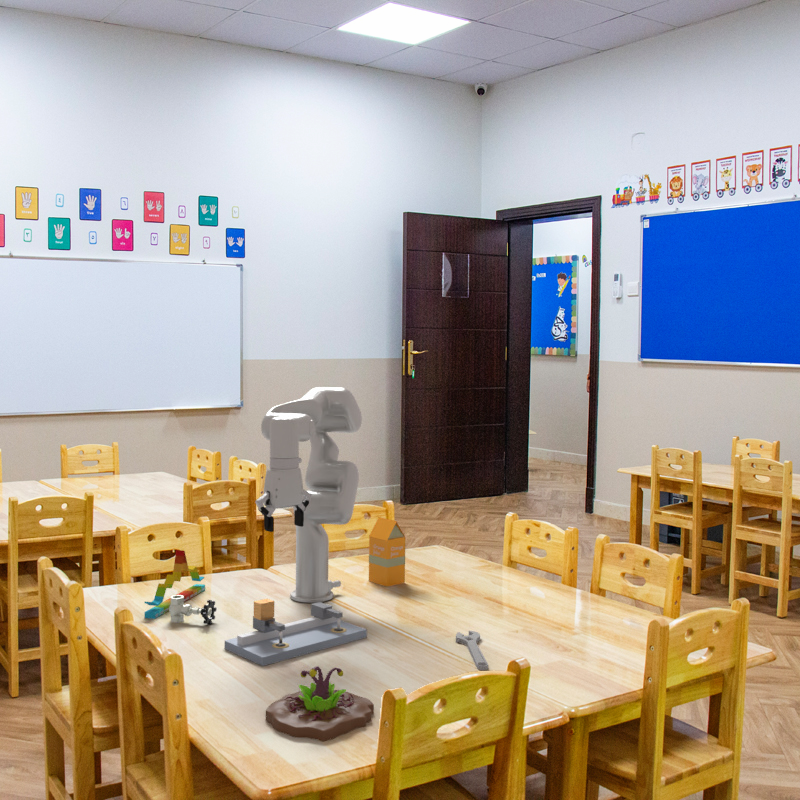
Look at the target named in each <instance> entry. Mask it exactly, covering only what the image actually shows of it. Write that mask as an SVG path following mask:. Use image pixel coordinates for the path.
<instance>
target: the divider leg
mask: <svg viewBox="0 0 800 800" xmlns="http://www.w3.org/2000/svg"><path fill="white" fill-rule="evenodd" d="M284 624H285V623H281V622H278V621H276V618H275V600H272V599H269V598H264V599H260V600H254V601H253V616H252V629H254V630H255V631H261V632H263V633H267V632H271V631H275V630H277V631H279V643H282V640H283V630H285V625H284Z"/></svg>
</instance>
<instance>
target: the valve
mask: <svg viewBox="0 0 800 800" xmlns="http://www.w3.org/2000/svg"><path fill="white" fill-rule="evenodd" d="M170 598H171V604H170V607H169V611H168V612H169V614H170V623H173V624H178V623H183V622H184V618H185V617H189V616H191V615H192V614H193V615H198V616H199V615H201V617H202V618H203V619H204V620H203V621H202V623H203V624H205V625H212V623H213V621H215V619H216V615H215V612H217V607H215V605H216V600H212V599H207V600H206V603H207V604H203V607H202V608H200V607H196V606H195V607H193V605H191V604H185V602H184V596H182V595H177V594H175V595H171V596H170ZM184 616H185V617H184Z"/></svg>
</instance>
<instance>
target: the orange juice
mask: <svg viewBox="0 0 800 800" xmlns="http://www.w3.org/2000/svg"><path fill="white" fill-rule="evenodd" d="M368 537H369V538H368V539H369V542H368V547H369V548H368V550H369V551H368V552H369V553H368V582H371V583H374V584H377V585H380V586H383V587H388V588H389V587H392V586H395V585H400V584H401V585H402V584H405V582H406V581H405V580H406V577H405V576H406V536H405V535H404V533H403V531H402V529H401V527H400V526H399V524H398V521H397V520H394V519H388V518H385V517H379V516H378V518H377V519H376V521H375V524H374V525H373V528H372V529H371V531H370V533H369V536H368Z"/></svg>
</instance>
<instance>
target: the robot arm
mask: <svg viewBox="0 0 800 800" xmlns="http://www.w3.org/2000/svg"><path fill="white" fill-rule="evenodd" d="M362 419H363V418H362V412H361V409H360V406H359V404H358V402H357V400H356V398H355V396H354V394H353V393H352V392H351V390H349V389H348V388H346V387H336V386H335V387H333V386H332V387H329V386H317V387H313V388H311V389H309V390H308V391H306V393H305V394H304V395H303V396H301V398H299V399H296V400H293V401H288V402H285V403H281V404H278V405H276V406H273V407H271V408H270V409H269V410H268V411H267V412H266V413H265V414H264V416H263V418H262V421H261V424H260V425H261V428H260V429H261V430H260V431H261V434H262V436H263V437H264V438H265V439H266V440H268V441H269V469H266V473H265V477H264V482H263V483H264V484H263V485H264V487H263V494H262V495H261V496H260V497H258V498H257V499H256V500H255V501H254V502H255V504H256V506H257V509H258V511H259V512H260V513H261V515H262V516H263V527H264V531H265V532H269V533H273V532H274V529H275V528H274V521H275V520H274V519H275V518H274V516H273V514H274V512H275V511H276V509H283V508H289V507H290V508H293V517H294V519H293V520H294V521H293V522H294V525H295V538H296V539H295V590H292V591H291V592H290V595H289V596H290V597H289V598H290V599H291V600H293V601H295V602H298V603H307V604H308V603H310V604H313V603H318V602H322V603H323V602H328V601H330V600H332V599H333V598H334V592H333V591H332V590H333V588H339V587H341V586H342V583H341V581H340V579H339V580H338V579H337V580H334V581H332V580H331V579H329V555H330V554H329V553H330V550H329V547H330V546H329V545H330V543H329V542H330V541H329V536H328V535H329V534H328V533H327V531H326V530H325V528H324V526H323V525H340V526H342V525H346V524H348V523H350V521H351V520H352V517H353V515H354V514H353V513H354V509H355V508H354V507H355V502H356V497H357V492H358V486H359V469H358V467H357V465H356V464H355V463H354V462H353V461H348V460H338V458H339V455H340V454H339V453H340V450H339V447H338V444H337V442H336V441H334V439H333V438H332V437H331V436H330V435H329V434H328V433H343V434H345V433H346V434H352V433H356V432H358V431H359V430H360V428H361V426H362ZM308 441H309V443H310V454H309V458H308V462H307V467H306V471H305V475H304V476H305V478H304V481H305V486H306V488H308V489H307V490H305V489H304V486H303V485H304V484H303V475H302V470H301V468H300V467H299V465H300V463H302V461H303V459H302V458H301V457H300V452H299V451H300V447H299V446H300V442H302V443H303V442H308Z"/></svg>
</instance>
